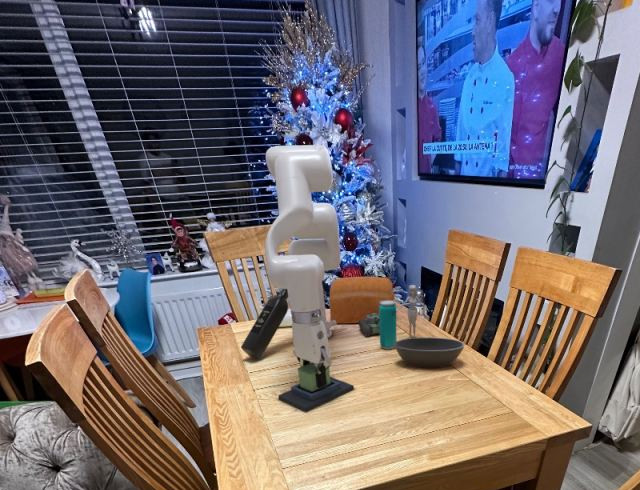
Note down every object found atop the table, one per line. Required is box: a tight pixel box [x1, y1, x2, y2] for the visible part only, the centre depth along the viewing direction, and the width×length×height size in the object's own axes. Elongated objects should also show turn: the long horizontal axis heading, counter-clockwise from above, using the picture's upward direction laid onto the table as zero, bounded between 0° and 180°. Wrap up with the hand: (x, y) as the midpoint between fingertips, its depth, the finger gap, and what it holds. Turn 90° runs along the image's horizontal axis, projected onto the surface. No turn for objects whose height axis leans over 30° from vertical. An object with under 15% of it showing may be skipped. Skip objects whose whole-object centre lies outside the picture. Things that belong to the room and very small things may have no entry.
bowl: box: [394, 337, 465, 369], centre depth 136 cm, size 12×22×6 cm, turn 83°
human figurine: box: [396, 284, 430, 339], centre depth 151 cm, size 12×4×18 cm, turn 93°
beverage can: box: [379, 300, 398, 350], centre depth 146 cm, size 6×6×15 cm
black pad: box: [277, 376, 355, 413], centre depth 122 cm, size 18×12×3 cm, turn 138°
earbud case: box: [278, 308, 292, 328], centre depth 172 cm, size 10×13×5 cm
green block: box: [297, 362, 331, 392], centre depth 119 cm, size 7×5×6 cm
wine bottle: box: [240, 289, 289, 360], centre depth 145 cm, size 6×6×30 cm
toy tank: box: [358, 313, 380, 338], centre depth 162 cm, size 10×12×7 cm
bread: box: [329, 276, 395, 324], centre depth 172 cm, size 14×26×16 cm, turn 88°
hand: (315, 382), depth 120 cm, fingers closed on green block, 4 cm apart
